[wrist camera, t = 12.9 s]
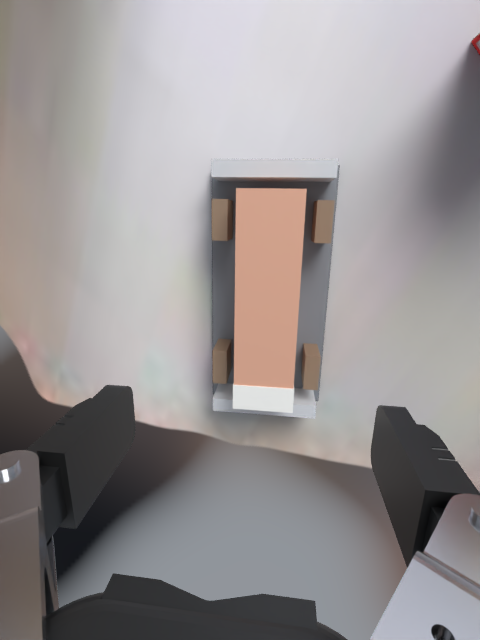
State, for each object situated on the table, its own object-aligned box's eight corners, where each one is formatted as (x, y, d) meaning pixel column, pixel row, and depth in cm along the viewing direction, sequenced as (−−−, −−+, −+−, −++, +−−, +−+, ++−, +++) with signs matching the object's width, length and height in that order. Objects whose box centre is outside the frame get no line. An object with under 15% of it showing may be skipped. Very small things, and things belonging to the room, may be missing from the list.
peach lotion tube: (302, 194, 28) (307, 188, 22) (290, 377, 32) (292, 413, 26) (244, 193, 28) (235, 187, 22) (241, 374, 33) (232, 408, 27)
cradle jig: (337, 167, 28) (346, 158, 24) (317, 396, 34) (321, 419, 30) (214, 166, 29) (203, 158, 25) (214, 388, 35) (206, 410, 31)
